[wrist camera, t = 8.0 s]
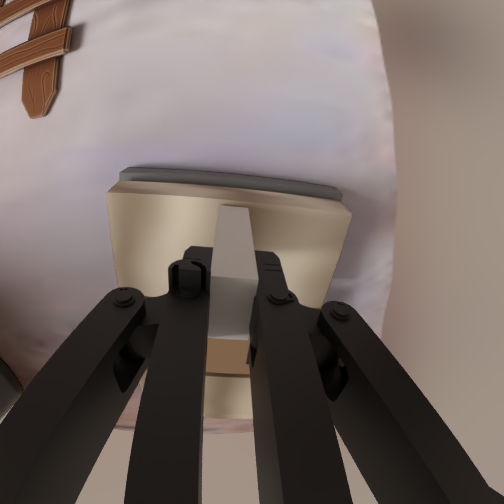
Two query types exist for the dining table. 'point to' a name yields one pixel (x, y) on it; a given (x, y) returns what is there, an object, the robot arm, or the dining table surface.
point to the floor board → (227, 350)
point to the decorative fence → (37, 51)
